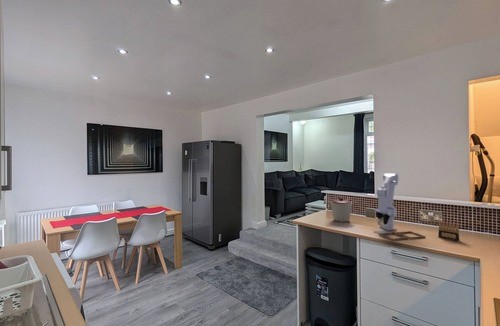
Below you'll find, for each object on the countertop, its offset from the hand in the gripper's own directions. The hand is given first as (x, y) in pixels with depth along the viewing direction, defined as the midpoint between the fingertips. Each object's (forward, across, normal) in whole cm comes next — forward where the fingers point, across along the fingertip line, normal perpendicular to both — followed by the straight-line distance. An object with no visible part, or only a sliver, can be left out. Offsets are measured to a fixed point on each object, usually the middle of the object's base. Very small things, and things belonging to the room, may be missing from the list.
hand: (382, 223), depth 173 cm
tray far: (+7, +10, +13) cm, 18 cm away
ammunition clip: (+7, +22, +32) cm, 39 cm away
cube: (+1, 0, 0) cm, 1 cm away
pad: (+7, 0, 0) cm, 7 cm away
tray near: (+7, +10, -1) cm, 13 cm away
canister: (+7, -40, -9) cm, 41 cm away
